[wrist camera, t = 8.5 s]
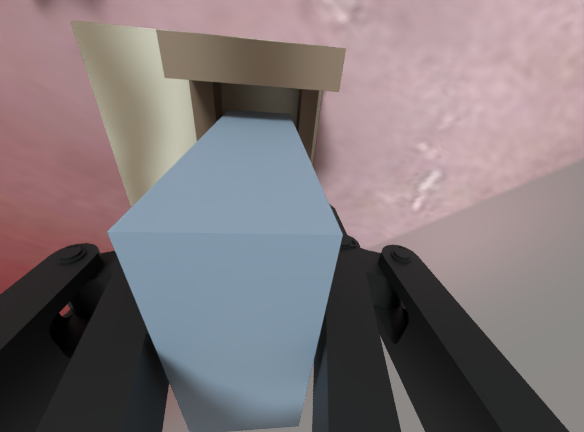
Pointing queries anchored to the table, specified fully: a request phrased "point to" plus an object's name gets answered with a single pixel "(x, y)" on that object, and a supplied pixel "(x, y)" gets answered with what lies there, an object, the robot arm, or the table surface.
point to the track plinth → (195, 89)
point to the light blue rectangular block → (234, 272)
